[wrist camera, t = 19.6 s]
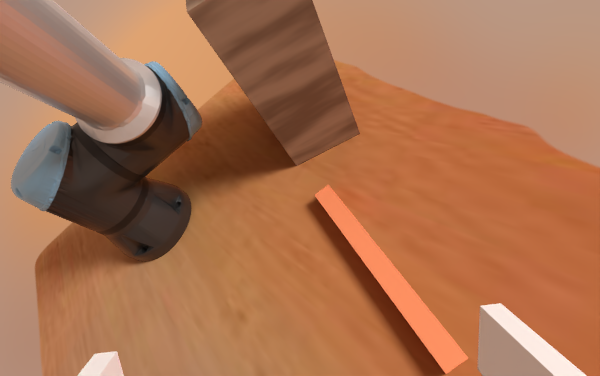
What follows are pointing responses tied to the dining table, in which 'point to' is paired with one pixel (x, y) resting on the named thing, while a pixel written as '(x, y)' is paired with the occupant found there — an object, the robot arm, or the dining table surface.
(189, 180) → the dining table surface
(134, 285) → the dining table surface
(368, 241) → the lever bar
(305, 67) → the stand
